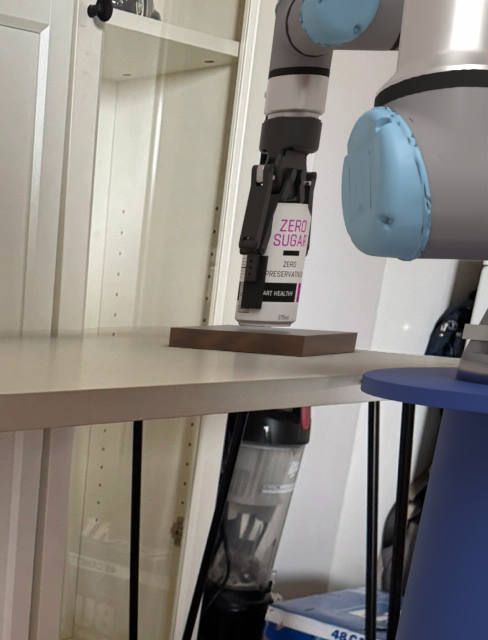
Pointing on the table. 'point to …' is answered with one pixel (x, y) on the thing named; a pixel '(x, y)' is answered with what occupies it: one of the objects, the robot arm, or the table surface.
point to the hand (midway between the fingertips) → (266, 308)
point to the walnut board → (263, 339)
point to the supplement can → (280, 269)
